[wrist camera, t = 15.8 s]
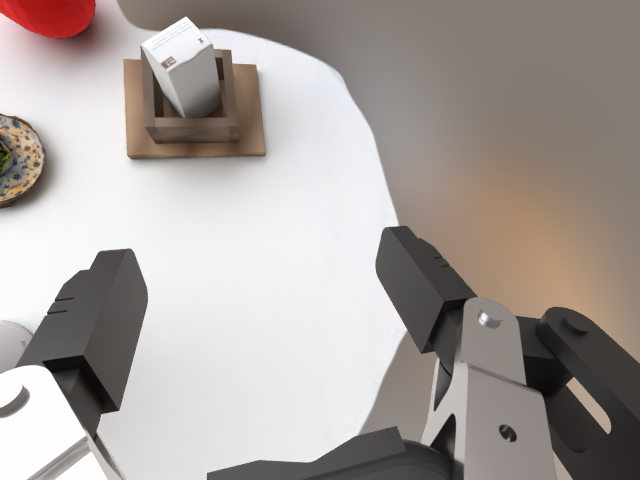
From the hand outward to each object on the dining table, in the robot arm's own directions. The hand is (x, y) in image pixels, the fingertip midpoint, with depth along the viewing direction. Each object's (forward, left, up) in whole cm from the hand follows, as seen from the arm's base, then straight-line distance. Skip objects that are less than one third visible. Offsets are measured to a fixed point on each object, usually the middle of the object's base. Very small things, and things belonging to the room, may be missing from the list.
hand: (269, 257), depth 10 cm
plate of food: (-30, +19, -34) cm, 49 cm away
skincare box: (-6, +25, -33) cm, 42 cm away
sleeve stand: (-6, +26, -34) cm, 43 cm away
